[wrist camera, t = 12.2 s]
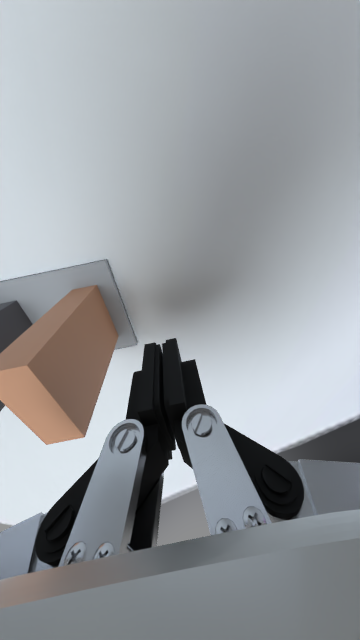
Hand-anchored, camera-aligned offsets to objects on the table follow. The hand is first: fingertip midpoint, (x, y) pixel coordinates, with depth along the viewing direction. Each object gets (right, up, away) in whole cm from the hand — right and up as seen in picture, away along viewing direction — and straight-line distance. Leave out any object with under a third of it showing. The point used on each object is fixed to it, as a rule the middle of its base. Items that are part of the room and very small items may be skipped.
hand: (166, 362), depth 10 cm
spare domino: (-6, +3, +6) cm, 9 cm away
